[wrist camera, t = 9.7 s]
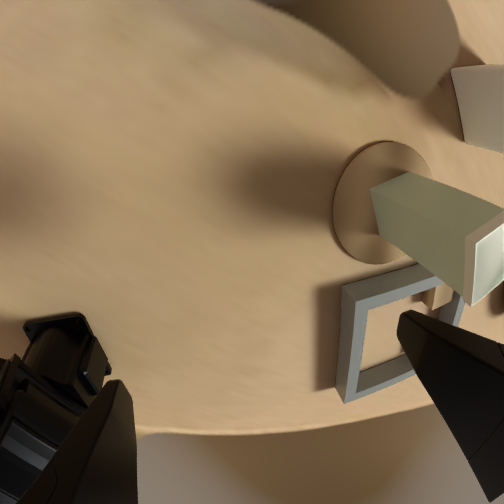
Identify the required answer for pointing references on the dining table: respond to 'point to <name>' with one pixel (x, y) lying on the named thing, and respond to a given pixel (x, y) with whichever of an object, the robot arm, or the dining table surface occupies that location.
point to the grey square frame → (354, 325)
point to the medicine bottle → (481, 104)
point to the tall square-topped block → (443, 232)
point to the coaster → (370, 199)
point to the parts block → (437, 296)
